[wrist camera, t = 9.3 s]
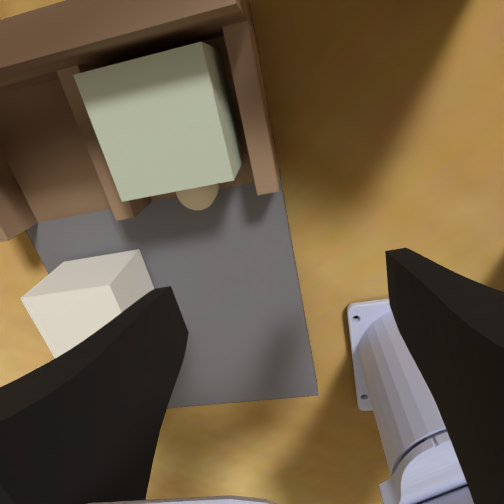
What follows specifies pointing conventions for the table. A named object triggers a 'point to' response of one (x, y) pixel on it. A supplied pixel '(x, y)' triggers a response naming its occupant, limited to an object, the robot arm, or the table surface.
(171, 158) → the sage block
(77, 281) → the white block
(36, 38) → the lane shelf
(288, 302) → the mat
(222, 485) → the table surface
